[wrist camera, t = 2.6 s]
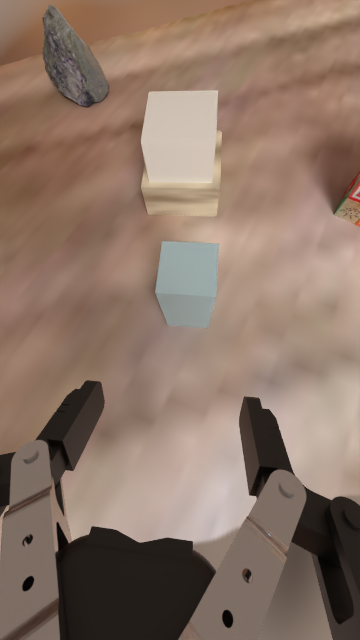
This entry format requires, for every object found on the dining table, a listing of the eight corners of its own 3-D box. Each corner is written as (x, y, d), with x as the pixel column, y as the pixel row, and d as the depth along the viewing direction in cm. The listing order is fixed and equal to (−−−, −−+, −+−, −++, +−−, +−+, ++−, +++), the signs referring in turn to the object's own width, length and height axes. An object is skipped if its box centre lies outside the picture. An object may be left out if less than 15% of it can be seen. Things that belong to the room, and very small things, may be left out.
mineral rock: (51, 73, 45) (12, -14, 35) (104, 62, 45) (80, -28, 35) (54, 116, 41) (12, 32, 31) (112, 104, 41) (88, 16, 31)
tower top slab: (212, 182, 28) (215, 141, 23) (149, 182, 29) (140, 141, 24) (213, 136, 31) (217, 90, 26) (155, 137, 31) (149, 91, 26)
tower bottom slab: (216, 217, 33) (219, 188, 28) (148, 216, 33) (141, 187, 29) (217, 165, 36) (221, 130, 31) (155, 165, 36) (149, 131, 32)
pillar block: (207, 328, 28) (216, 296, 18) (167, 325, 28) (155, 292, 19) (210, 290, 29) (218, 243, 20) (171, 288, 30) (162, 241, 20)
